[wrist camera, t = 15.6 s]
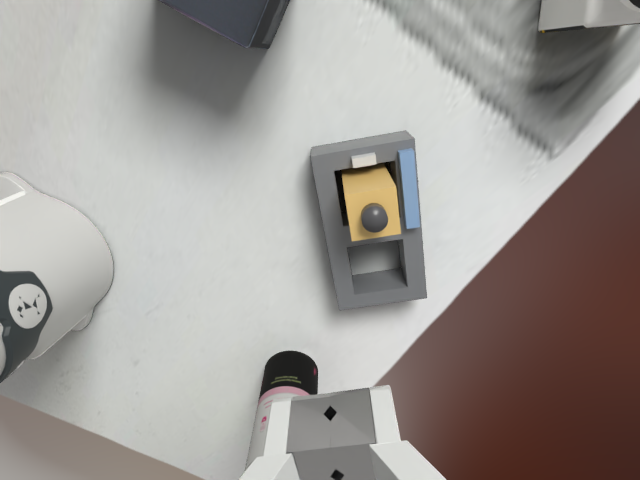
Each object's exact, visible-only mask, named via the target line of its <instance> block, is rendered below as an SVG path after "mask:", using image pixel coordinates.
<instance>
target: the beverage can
mask: <svg viewBox="0 0 640 480" xmlns="http://www.w3.org/2000/svg"><path fill="white" fill-rule="evenodd" d="M317 390H318V369H317V366H316V364H315V362H314V361H313V360H312V359H311V358H310V357H309V356H308V355H306V354H304V353H301V352H298V351H283V352H280V353H277V354H275V355H274V356H272V357H271V358H270V359H269V360H268V362H267V364H266V366H265V371H264V376H263V381H262V386H261V391H260V397H259V402H258V407H257V412H256V417H255V422H254V427H253V432H252V437H251V442H250V447H249V453H248V458H247V463H246V468H245V471H246V470H247V468H248V467H249V466H250V465H251V463H252V462H253V461H254V460H255V458H256V457H261V456H263V450H264V444H265V438H266V432H267V426H268V420H269V413H270V407H271V403H272V401H273V399H279V398H290V397H296V396H306V395H316V394H317Z"/></svg>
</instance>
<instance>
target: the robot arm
mask: <svg viewBox="0 0 640 480" xmlns="http://www.w3.org/2000/svg"><path fill="white" fill-rule="evenodd" d="M112 279H113V260H112V256H111V252H110V250H109V247H108V245H107V243H106V241H105V239H104V237H103V236H102V234H101V233H100V232H99V230H98V229H97V228H96V227H95V225H94V224H93V223H92V222H91V221H90V220H89V219H88V218H87V217H85V216H84V215H83V214H82V213H80V212H79V211H78V210H76V209H75V208H73V207H72V206H70V205H68V204H66V203H64V202H62V201H60V200H58V199H55V198H53V197H50V196H47V195H45V194H43V193H40V192H38V191H37V190H35V189H34V188H33V187H31V186H30V185H29V184H28V183H26V182H25V181H24V180H22V179H21V178H20V177H18V176H17V175H15V174H13V173H10V172H3V173H0V383H1V382H2V381H3V380H4V379H6V378H7V377H9V376H10V375H11V374H12V373H14V372H15V371H16V370H17V369H18V368H19V367H20V366H21V365H22V364H23V363H24V360H26V359H31V360H34V359H36V358H38V357H40V356H41V355H42V354H43V353H45V352H46V351H47V350H48V349H49V348H50V347H52V346H53V345H54V344H55V343H56V342H57V341H58V340H60V339H61V338H62V337H63V336H64V335H65V334H66V333H68V332H69V331H79V330H82V329H83V328H84V327H86V326H87V325H88V324H89V323H90V321H91V318H92V314H93V309H94V307H95V305H96V304H97V303H98V302H99V301H100V300H101V299H102V298H103V297H104V296H105V294H106V293H107V291H108V290H109V288H110V285H111V283H112ZM238 480H446V479H445V478H444V477H443V476H442V475H441V474H440V473H439V472H438V471H437V470H436V469H435V468H434V467H433V466H432V465H431V464H430V463H429V462H428V461H427V460H426V459H425V458H424V457H423V456H422V455H421V454H420V453H419V452H418V451H417V450H416V449H415V448H414V447H413V446H412V445H411V444H410V443H409V442H408V441H401V439H400V434H399V429H398V424H397V419H396V413H395V408H394V403H393V398H392V393H391V388H390V386H389V385H385V386H378V387H370V390H369V388H363V389H355V390H348V391H340V392H333V393H327V394H316V395H306V396H296V397H290V398H279V399H273V401H272V403H271V407H270V413H269V420H268V426H267V432H266V438H265V444H264V450H263V456H261V457H256V458H255V460H254V461H253V462H252V463H251V465H250V466H249V467H248V468H247V470H246V471H245V472H244V473H243V474H242V476H241V477H240V478H239V479H238Z"/></svg>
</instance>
